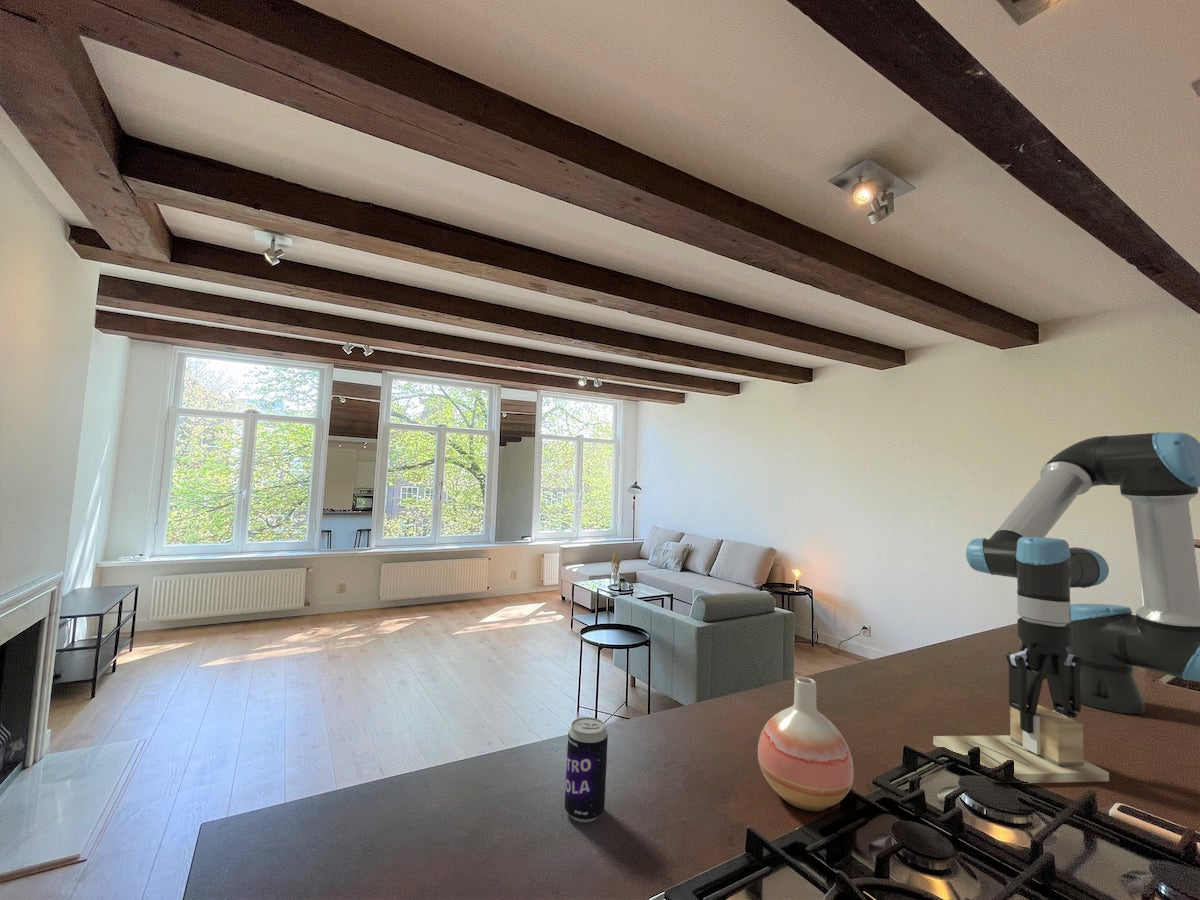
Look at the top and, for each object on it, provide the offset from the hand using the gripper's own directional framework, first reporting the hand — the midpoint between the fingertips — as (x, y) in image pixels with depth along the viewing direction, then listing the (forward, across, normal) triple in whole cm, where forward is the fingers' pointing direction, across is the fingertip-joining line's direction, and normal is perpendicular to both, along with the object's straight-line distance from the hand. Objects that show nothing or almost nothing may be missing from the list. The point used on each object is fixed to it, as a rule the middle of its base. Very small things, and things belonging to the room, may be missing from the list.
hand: (1045, 749), depth 93 cm
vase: (+2, +52, +9) cm, 53 cm away
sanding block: (0, 0, 0) cm, 0 cm away
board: (+2, +6, 0) cm, 6 cm away
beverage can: (+2, +86, +11) cm, 87 cm away
